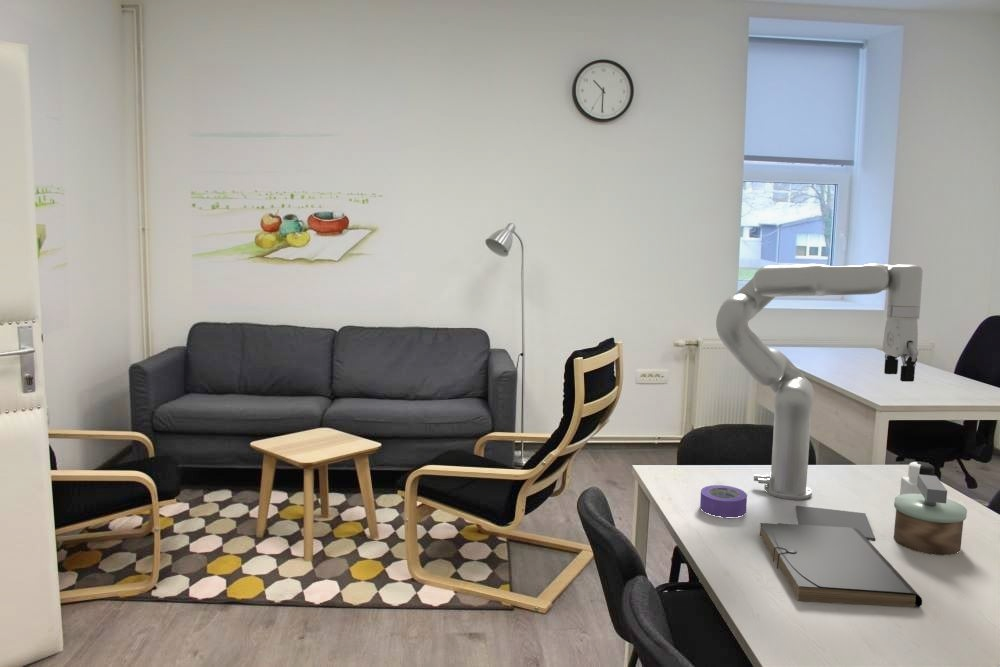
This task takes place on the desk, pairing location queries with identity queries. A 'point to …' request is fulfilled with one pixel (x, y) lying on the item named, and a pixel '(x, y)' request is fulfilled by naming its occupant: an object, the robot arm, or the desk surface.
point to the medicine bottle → (915, 477)
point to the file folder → (835, 566)
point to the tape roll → (723, 501)
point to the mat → (834, 519)
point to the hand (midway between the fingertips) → (898, 377)
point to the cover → (930, 502)
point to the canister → (927, 535)
